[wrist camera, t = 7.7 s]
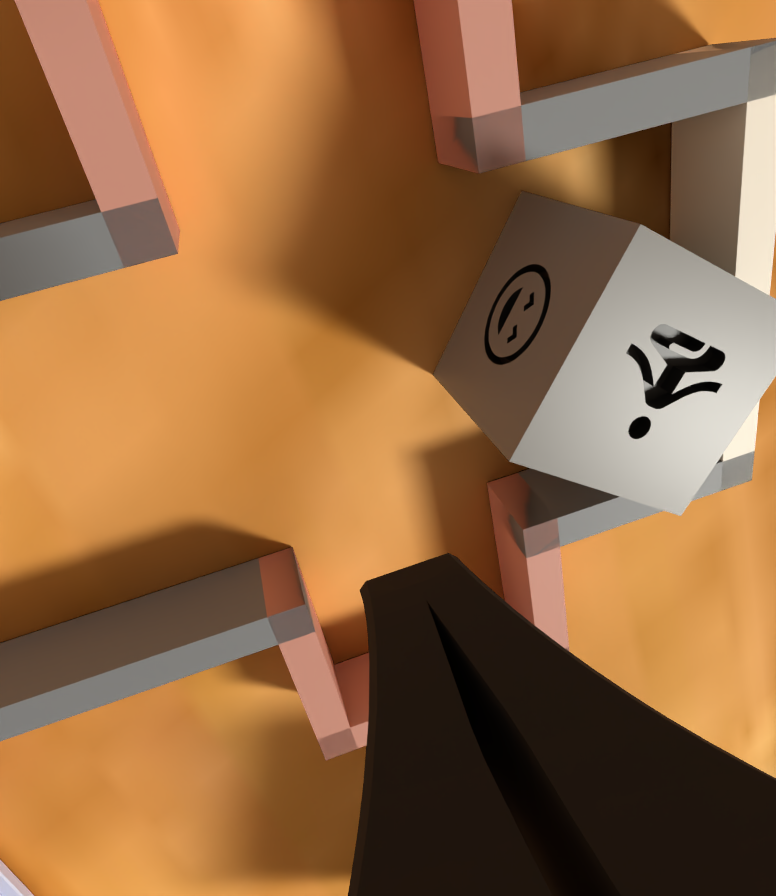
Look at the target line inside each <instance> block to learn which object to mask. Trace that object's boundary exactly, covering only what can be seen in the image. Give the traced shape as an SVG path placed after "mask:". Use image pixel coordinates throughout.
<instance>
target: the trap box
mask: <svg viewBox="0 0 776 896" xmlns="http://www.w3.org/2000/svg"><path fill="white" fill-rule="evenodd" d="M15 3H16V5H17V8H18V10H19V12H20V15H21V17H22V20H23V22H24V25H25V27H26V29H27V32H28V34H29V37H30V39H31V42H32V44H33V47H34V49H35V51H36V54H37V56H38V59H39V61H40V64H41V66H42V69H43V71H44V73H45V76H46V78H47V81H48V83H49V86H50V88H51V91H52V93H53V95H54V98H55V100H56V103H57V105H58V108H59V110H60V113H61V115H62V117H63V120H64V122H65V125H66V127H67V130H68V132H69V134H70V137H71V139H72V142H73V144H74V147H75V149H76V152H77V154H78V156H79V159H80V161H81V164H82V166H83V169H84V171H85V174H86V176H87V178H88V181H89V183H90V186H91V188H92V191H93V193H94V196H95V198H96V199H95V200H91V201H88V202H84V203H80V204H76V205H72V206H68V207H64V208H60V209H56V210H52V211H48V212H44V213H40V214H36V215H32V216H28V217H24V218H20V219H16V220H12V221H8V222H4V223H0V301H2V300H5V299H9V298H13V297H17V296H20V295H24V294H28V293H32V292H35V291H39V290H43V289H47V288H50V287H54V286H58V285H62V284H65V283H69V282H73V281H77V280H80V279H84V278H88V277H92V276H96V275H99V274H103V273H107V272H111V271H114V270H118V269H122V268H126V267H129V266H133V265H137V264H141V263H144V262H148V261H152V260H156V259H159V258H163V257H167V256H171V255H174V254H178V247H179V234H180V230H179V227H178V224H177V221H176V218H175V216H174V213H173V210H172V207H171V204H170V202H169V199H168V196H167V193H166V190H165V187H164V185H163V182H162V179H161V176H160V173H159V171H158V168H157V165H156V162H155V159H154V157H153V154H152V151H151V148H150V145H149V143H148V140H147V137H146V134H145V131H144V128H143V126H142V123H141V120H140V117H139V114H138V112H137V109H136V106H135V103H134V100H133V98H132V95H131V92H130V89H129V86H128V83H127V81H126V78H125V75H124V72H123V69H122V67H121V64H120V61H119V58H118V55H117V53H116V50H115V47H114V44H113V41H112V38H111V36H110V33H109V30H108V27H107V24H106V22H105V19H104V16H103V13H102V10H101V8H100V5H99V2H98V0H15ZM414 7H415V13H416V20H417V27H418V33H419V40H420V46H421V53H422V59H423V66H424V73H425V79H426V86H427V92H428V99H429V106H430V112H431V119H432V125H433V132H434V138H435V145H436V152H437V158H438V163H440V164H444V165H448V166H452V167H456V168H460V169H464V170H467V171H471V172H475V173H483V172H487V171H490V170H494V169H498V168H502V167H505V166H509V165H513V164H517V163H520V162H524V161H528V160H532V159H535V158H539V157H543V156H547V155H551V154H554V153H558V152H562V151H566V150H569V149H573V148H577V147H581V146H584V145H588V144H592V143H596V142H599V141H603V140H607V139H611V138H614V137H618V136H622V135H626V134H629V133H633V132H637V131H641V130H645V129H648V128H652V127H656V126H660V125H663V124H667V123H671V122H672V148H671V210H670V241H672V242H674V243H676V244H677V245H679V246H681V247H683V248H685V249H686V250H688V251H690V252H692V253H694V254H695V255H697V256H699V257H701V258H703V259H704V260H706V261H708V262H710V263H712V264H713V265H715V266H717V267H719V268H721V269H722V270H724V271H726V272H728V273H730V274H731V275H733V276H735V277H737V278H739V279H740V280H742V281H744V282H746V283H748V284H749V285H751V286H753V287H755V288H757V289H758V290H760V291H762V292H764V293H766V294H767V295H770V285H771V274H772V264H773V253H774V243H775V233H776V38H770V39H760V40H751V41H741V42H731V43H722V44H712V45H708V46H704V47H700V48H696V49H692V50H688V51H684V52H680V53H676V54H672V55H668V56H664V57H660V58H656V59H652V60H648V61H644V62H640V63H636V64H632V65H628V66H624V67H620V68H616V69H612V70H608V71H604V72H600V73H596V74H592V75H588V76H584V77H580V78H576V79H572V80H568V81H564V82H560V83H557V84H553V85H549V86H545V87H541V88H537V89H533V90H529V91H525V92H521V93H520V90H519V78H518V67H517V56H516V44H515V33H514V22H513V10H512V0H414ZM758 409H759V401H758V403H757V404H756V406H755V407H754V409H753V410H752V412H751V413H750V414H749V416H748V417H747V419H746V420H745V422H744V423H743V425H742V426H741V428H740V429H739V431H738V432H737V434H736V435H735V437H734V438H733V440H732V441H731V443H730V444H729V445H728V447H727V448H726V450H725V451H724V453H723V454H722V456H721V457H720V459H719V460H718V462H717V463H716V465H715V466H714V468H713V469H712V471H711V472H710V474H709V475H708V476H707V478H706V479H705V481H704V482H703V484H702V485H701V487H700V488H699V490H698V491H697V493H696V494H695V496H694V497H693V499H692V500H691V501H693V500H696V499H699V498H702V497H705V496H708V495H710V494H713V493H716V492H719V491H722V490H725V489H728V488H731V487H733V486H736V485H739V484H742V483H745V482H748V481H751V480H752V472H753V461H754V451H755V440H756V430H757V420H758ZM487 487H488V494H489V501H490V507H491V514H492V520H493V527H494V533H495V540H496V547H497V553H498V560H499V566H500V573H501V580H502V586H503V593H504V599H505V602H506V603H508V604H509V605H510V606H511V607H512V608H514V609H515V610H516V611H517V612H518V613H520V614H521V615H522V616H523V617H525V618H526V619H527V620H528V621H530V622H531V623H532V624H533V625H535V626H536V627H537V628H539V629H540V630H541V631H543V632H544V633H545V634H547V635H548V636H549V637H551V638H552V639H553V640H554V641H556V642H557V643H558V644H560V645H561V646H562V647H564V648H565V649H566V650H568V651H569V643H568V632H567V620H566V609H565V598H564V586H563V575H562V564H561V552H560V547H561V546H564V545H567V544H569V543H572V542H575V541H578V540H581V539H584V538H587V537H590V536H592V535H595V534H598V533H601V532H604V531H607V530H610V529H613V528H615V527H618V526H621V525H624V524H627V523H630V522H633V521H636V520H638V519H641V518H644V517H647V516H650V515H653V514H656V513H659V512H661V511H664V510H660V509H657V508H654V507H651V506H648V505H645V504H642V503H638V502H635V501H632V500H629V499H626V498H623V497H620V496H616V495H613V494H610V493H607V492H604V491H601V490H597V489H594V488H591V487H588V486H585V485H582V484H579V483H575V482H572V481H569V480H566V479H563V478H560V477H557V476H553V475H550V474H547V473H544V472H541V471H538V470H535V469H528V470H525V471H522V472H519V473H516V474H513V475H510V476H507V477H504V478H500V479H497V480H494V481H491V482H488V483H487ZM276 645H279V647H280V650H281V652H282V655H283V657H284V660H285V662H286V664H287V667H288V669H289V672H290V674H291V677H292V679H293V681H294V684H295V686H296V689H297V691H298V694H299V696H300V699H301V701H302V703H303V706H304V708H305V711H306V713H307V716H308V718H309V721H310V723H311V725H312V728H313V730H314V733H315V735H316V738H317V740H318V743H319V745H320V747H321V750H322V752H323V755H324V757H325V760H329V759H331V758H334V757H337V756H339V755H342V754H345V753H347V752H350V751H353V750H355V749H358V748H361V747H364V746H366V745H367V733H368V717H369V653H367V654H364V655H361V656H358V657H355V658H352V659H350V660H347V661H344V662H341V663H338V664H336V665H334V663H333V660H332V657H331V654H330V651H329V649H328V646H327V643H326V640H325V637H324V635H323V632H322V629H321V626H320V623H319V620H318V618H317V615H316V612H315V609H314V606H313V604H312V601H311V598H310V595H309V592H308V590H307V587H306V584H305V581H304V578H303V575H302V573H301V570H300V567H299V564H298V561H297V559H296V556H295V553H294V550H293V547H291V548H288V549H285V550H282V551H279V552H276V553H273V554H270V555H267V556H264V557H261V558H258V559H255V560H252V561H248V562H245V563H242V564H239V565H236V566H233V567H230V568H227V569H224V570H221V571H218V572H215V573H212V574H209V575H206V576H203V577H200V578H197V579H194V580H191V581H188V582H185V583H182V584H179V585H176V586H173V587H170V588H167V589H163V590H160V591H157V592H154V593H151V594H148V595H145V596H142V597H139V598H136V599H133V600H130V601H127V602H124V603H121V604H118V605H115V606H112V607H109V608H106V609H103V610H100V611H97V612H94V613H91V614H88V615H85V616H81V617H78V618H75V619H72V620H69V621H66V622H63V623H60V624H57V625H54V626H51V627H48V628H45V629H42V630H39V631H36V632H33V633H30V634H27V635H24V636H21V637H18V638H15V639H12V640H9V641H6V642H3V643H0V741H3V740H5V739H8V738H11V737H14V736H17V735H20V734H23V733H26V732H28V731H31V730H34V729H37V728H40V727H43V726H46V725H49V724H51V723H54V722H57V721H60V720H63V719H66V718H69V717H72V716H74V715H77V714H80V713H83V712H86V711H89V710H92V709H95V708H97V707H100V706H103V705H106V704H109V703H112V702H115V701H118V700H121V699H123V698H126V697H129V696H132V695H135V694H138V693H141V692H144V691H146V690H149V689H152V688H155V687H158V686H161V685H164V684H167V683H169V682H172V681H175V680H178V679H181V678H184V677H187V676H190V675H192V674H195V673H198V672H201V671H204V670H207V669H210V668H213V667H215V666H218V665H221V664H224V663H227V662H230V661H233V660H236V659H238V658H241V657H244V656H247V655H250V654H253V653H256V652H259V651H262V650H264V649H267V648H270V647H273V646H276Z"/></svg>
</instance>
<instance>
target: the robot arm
mask: <svg viewBox="0 0 776 896" xmlns="http://www.w3.org/2000/svg"><path fill="white" fill-rule="evenodd" d="M360 593H361V596H362V599H363V603H364V609H365V614H366V621H367V631H368V646H369V717H368V733H367V746H366V759H365V771H364V784H363V793H362V802H361V810H360V819H359V826H358V834H357V841H356V847H355V854H354V861H353V867H352V874H351V880H350V886H349V892H348V896H776V778H774V777H772V776H770V775H768V774H766V773H764V772H763V771H761V770H759V769H757V768H755V767H753V766H752V765H750V764H748V763H746V762H744V761H743V760H741V759H739V758H737V757H735V756H733V755H732V754H730V753H728V752H726V751H724V750H723V749H721V748H719V747H717V746H715V745H713V744H712V743H710V742H708V741H706V740H705V739H703V738H701V737H700V736H698V735H696V734H695V733H693V732H691V731H689V730H688V729H686V728H684V727H683V726H681V725H679V724H678V723H676V722H674V721H672V720H671V719H669V718H667V717H666V716H664V715H663V714H661V713H659V712H658V711H656V710H655V709H653V708H651V707H650V706H648V705H647V704H645V703H644V702H642V701H640V700H639V699H637V698H636V697H634V696H633V695H631V694H630V693H628V692H626V691H625V690H624V689H622V688H621V687H619V686H618V685H616V684H615V683H613V682H612V681H610V680H609V679H607V678H606V677H604V676H603V675H601V674H600V673H598V672H597V671H596V670H594V669H593V668H591V667H590V666H588V665H587V664H586V663H584V662H583V661H581V660H580V659H579V658H577V657H576V656H574V655H573V654H572V653H570V652H569V651H568V650H566V649H565V648H564V647H562V646H561V645H560V644H558V643H557V642H556V641H554V640H553V639H552V638H551V637H549V636H548V635H547V634H545V633H544V632H543V631H541V630H540V629H539V628H537V627H536V626H535V625H533V624H532V623H531V622H530V621H528V620H527V619H526V618H525V617H523V616H522V615H521V614H520V613H518V612H517V611H516V610H515V609H514V608H512V607H511V606H510V605H509V604H508V603H506V602H505V601H504V600H503V599H502V598H501V597H499V596H498V595H497V594H496V593H495V592H494V591H492V590H491V589H490V588H489V587H488V586H487V585H486V584H484V583H483V582H482V581H481V580H480V579H479V578H478V577H477V576H476V575H475V574H474V573H473V572H471V571H470V570H469V569H468V568H467V567H466V566H465V565H464V564H463V563H462V562H461V561H460V560H459V559H458V558H457V557H456V556H453V555H451V554H449V553H447V554H444V555H441V556H438V557H435V558H432V559H429V560H426V561H424V562H421V563H418V564H415V565H412V566H409V567H406V568H403V569H400V570H397V571H394V572H392V573H389V574H386V575H383V576H380V577H377V578H374V579H371V580H368V581H366V582H365V583H364V585H363V586H362V588H361V589H360ZM0 896H34V895H33V894H32V893H31V892H30V891H29V890H28V889H27V888H26V887H25V885H24V884H23V883H22V882H21V881H20V880H19V879H18V878H17V877H16V876H15V875H14V874H13V873H12V872H11V871H10V869H9V868H8V867H7V866H6V865H5V864H4V863H3V862H2V861H1V860H0Z"/></svg>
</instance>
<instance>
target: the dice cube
mask: <svg viewBox="0 0 776 896" xmlns="http://www.w3.org/2000/svg"><path fill="white" fill-rule="evenodd" d="M433 376H434V377H435V378H436V379H437V380H438V381H439V382H440V383H441V385H442V386H443V387H444V388H445V389H446V390H447V391H448V393H449V394H450V395H451V396H452V397H453V398H454V399H455V400H456V402H457V403H458V404H459V405H460V406H461V407H462V408H463V410H464V411H465V412H466V413H467V414H468V415H469V416H470V418H471V419H472V420H473V421H474V422H475V423H476V424H477V425H478V427H479V428H480V429H481V430H482V431H483V432H484V433H485V435H486V436H487V437H488V438H489V439H490V440H491V441H492V442H493V444H494V445H495V446H496V447H497V448H498V449H499V450H500V452H501V453H502V454H503V455H504V456H505V457H506V458H507V460H508V461H509V462H512V463H516V464H519V465H522V466H525V467H528V468H531V469H535V470H538V471H541V472H544V473H547V474H550V475H553V476H557V477H560V478H563V479H566V480H569V481H572V482H575V483H579V484H582V485H585V486H588V487H591V488H594V489H597V490H601V491H604V492H607V493H610V494H613V495H616V496H620V497H623V498H626V499H629V500H632V501H635V502H638V503H642V504H645V505H648V506H651V507H654V508H657V509H660V510H664V511H667V512H670V513H673V514H676V515H679V516H681V515H682V513H683V512H684V510H685V509H686V508H687V506H688V505H689V503H690V502H691V500H692V499H693V497H694V496H695V494H696V493H697V491H698V490H699V488H700V487H701V485H702V484H703V482H704V481H705V479H706V478H707V476H708V475H709V474H710V472H711V471H712V469H713V468H714V466H715V465H716V463H717V462H718V460H719V459H720V457H721V456H722V454H723V453H724V451H725V450H726V448H727V447H728V445H729V444H730V443H731V441H732V440H733V438H734V437H735V435H736V434H737V432H738V431H739V429H740V428H741V426H742V425H743V423H744V422H745V420H746V419H747V417H748V416H749V414H750V413H751V412H752V410H753V409H754V407H755V406H756V404H757V403H758V401H759V400H760V398H761V397H762V395H763V394H764V392H765V391H766V389H767V388H768V386H769V385H770V383H771V382H772V380H773V379H774V378H775V376H776V299H775V298H773V297H771V296H769V295H767V294H766V293H764V292H762V291H760V290H758V289H757V288H755V287H753V286H751V285H749V284H748V283H746V282H744V281H742V280H740V279H739V278H737V277H735V276H733V275H731V274H730V273H728V272H726V271H724V270H722V269H721V268H719V267H717V266H715V265H713V264H712V263H710V262H708V261H706V260H704V259H703V258H701V257H699V256H697V255H695V254H694V253H692V252H690V251H688V250H686V249H685V248H683V247H681V246H679V245H677V244H676V243H674V242H672V241H670V240H668V239H667V238H665V237H663V236H661V235H659V234H658V233H656V232H654V231H652V230H650V229H649V228H647V227H645V226H643V225H641V224H638V223H635V222H631V221H628V220H624V219H621V218H617V217H613V216H610V215H606V214H603V213H599V212H596V211H592V210H588V209H585V208H581V207H578V206H574V205H571V204H567V203H564V202H560V201H556V200H553V199H549V198H546V197H542V196H539V195H535V194H532V193H528V192H524V191H521V193H520V195H519V197H518V199H517V201H516V204H515V206H514V208H513V210H512V212H511V214H510V216H509V218H508V220H507V222H506V224H505V226H504V228H503V230H502V232H501V235H500V237H499V239H498V241H497V243H496V245H495V247H494V249H493V251H492V253H491V255H490V257H489V259H488V261H487V263H486V266H485V268H484V270H483V272H482V274H481V276H480V278H479V280H478V282H477V284H476V286H475V288H474V290H473V292H472V294H471V297H470V299H469V301H468V303H467V305H466V307H465V309H464V311H463V313H462V315H461V317H460V319H459V321H458V323H457V325H456V328H455V330H454V332H453V334H452V336H451V338H450V340H449V342H448V344H447V346H446V348H445V350H444V352H443V354H442V356H441V359H440V361H439V363H438V365H437V367H436V369H435V371H434V373H433Z"/></svg>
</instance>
